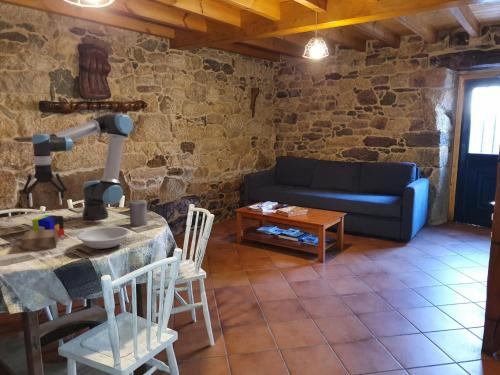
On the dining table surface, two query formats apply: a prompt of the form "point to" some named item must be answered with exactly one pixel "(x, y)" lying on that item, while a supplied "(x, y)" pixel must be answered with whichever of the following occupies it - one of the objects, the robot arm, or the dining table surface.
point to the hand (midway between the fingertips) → (46, 205)
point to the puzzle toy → (49, 223)
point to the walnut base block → (39, 240)
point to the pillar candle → (138, 212)
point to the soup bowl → (103, 237)
